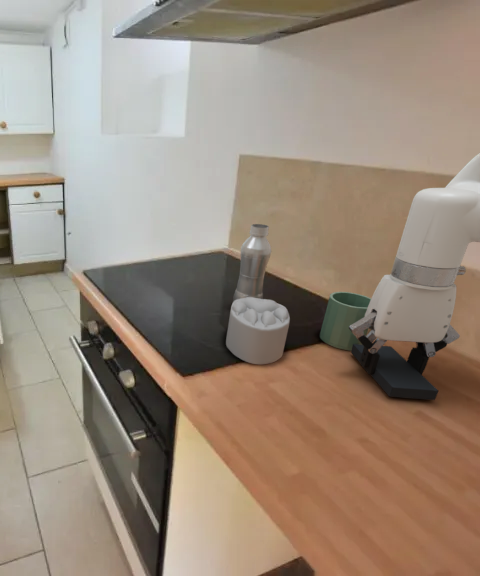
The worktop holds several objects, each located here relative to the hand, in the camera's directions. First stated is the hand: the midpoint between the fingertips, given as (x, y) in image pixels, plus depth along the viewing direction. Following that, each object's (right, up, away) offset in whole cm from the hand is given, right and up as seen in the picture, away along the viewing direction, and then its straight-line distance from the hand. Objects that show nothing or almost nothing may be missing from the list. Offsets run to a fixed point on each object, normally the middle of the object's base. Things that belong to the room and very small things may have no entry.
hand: (389, 370), depth 64 cm
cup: (-1, +3, +12) cm, 12 cm away
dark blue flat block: (0, -1, 0) cm, 1 cm away
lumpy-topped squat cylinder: (-19, +2, +10) cm, 22 cm away
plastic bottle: (-15, +9, +25) cm, 30 cm away
